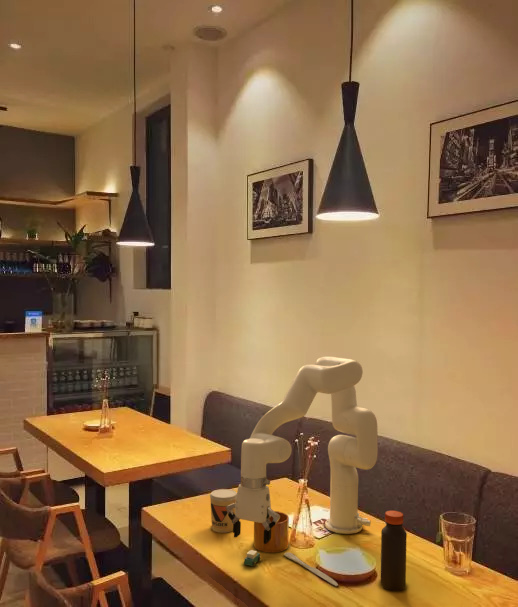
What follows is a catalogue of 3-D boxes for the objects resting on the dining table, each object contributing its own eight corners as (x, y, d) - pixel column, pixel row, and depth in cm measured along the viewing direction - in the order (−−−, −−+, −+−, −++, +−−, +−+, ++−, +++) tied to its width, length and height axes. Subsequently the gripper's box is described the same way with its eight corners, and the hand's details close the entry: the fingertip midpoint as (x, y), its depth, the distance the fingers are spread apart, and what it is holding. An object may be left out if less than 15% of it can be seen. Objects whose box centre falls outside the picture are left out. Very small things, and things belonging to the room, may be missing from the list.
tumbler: (291, 540, 194) (292, 513, 194) (283, 554, 183) (284, 525, 183) (259, 536, 197) (259, 509, 197) (249, 549, 187) (249, 521, 186)
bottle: (376, 587, 164) (378, 514, 164) (385, 577, 170) (386, 507, 169) (400, 594, 160) (402, 520, 160) (408, 583, 166) (410, 512, 166)
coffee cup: (204, 531, 200) (205, 495, 200) (216, 521, 209) (216, 487, 209) (230, 535, 197) (231, 499, 197) (241, 525, 206) (241, 490, 206)
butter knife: (290, 551, 184) (282, 553, 183) (341, 583, 164) (333, 586, 163) (290, 552, 184) (282, 554, 183) (341, 585, 164) (333, 587, 163)
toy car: (253, 568, 174) (253, 556, 174) (243, 565, 176) (243, 554, 175) (261, 560, 179) (261, 549, 179) (251, 558, 181) (251, 547, 181)
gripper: (285, 482, 177) (283, 540, 177) (232, 474, 184) (231, 529, 184) (275, 489, 170) (273, 549, 170) (221, 480, 177) (220, 538, 177)
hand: (251, 539), depth 177 cm, fingers open, 9 cm apart
